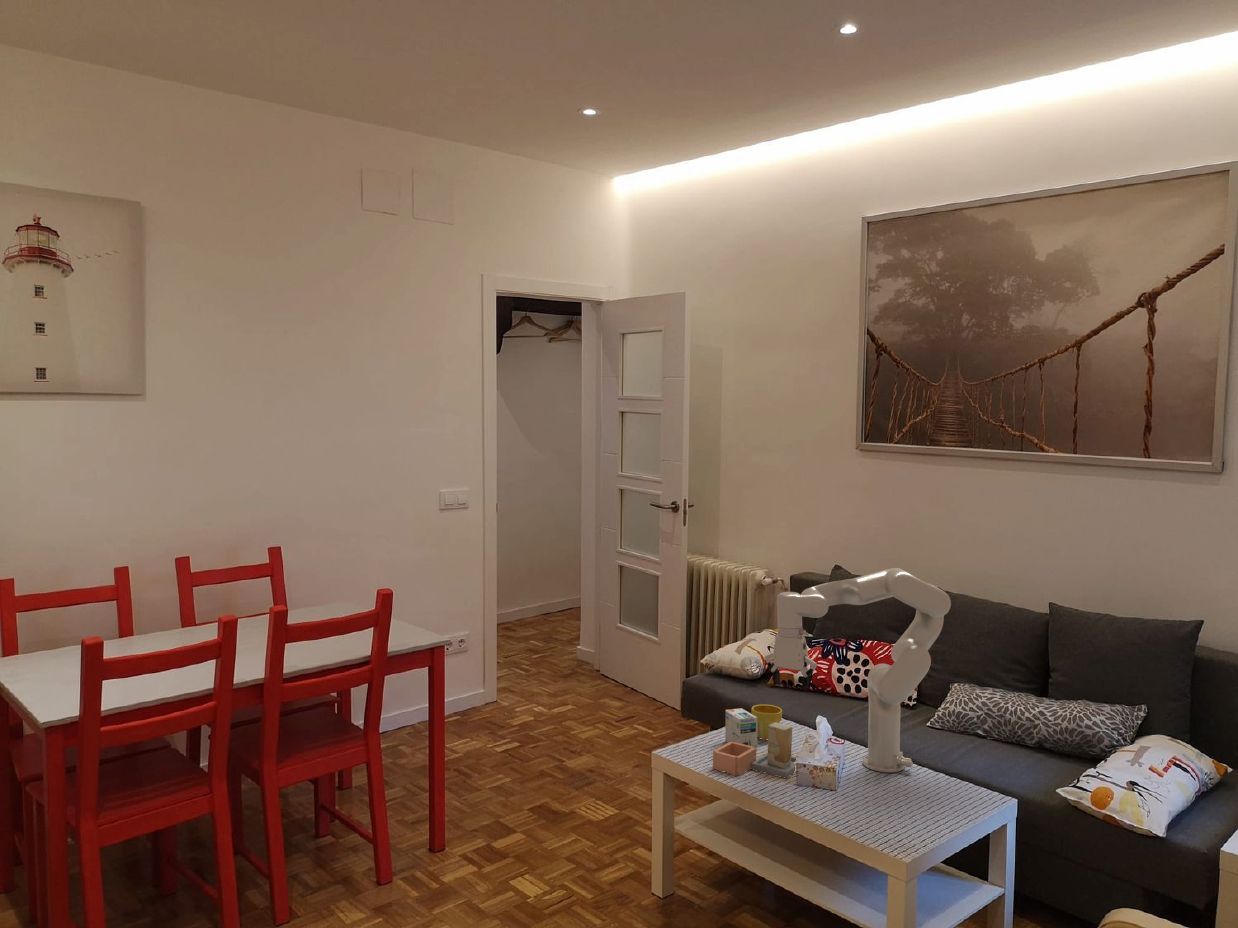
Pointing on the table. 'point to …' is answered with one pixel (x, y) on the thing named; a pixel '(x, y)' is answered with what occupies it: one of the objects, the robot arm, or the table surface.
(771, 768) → the grey tray
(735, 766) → the terracotta square pot
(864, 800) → the table surface
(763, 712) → the plant pot
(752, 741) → the light bulb box
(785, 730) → the skincare box
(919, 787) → the table surface
